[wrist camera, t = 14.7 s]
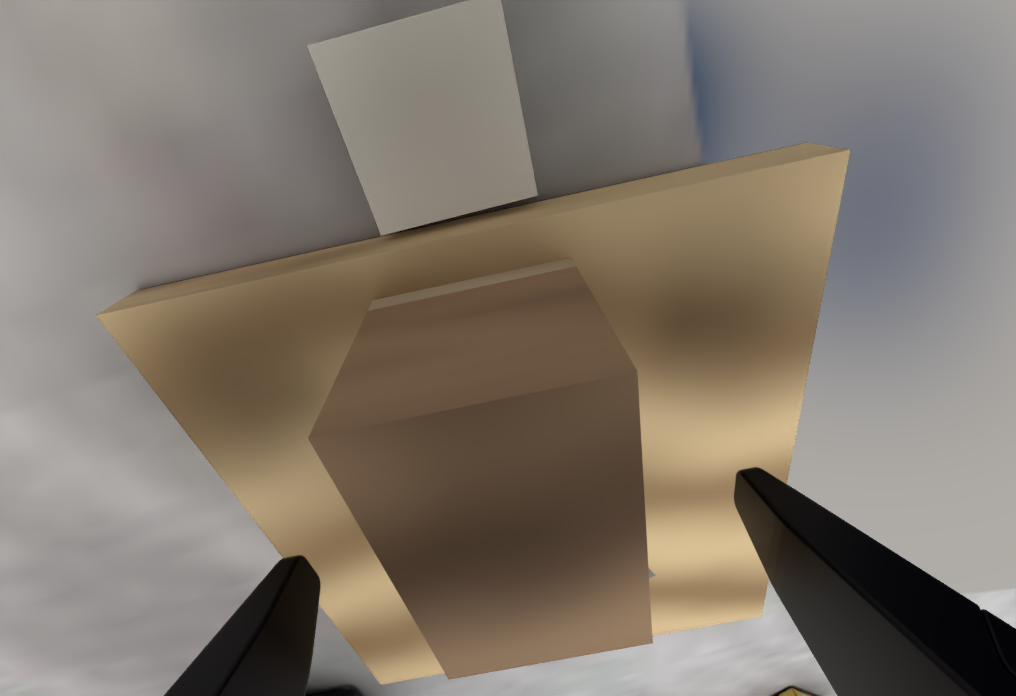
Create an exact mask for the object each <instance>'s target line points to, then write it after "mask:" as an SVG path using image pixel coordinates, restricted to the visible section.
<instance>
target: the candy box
mask: <svg viewBox="0 0 1016 696" xmlns="http://www.w3.org/2000/svg"><path fill="white" fill-rule="evenodd" d="M779 696H812V695H810V694H807V693H804V692H802V691H798V690H795V689H793V688H789V689H787V690H786V691H784V692H782V693H780V694H779Z"/></svg>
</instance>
